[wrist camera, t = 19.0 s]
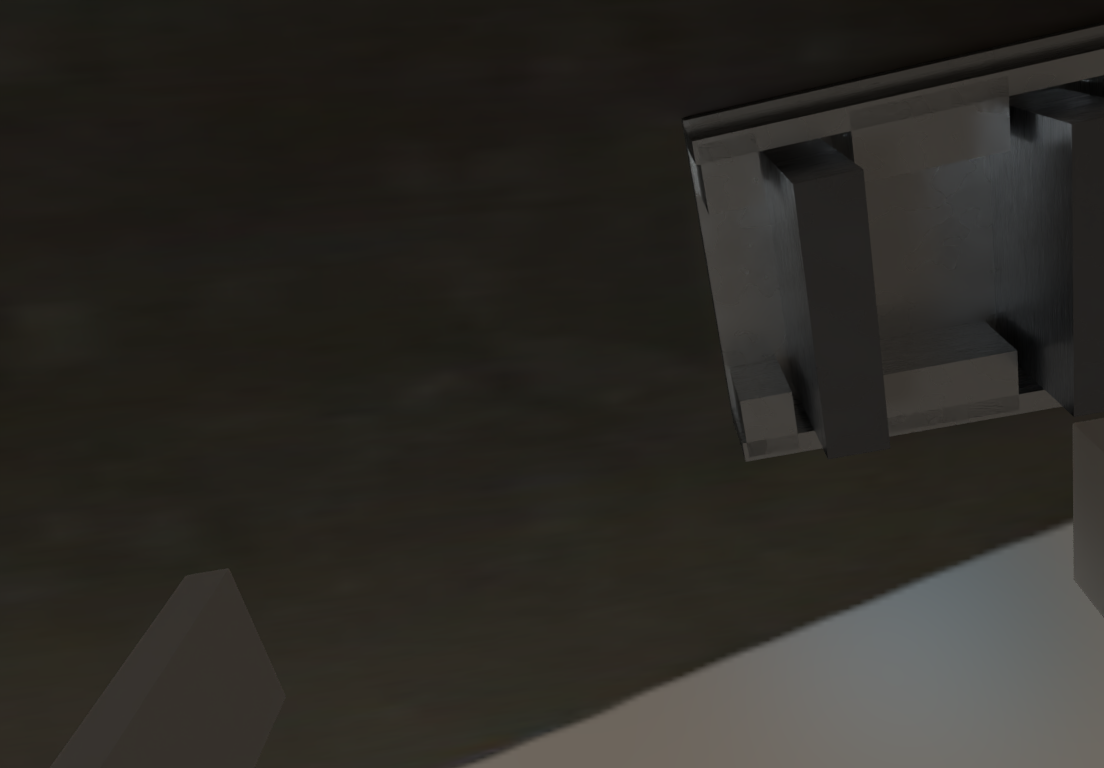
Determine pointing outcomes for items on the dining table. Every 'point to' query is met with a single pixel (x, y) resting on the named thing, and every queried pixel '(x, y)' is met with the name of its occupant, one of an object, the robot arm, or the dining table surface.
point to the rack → (909, 246)
